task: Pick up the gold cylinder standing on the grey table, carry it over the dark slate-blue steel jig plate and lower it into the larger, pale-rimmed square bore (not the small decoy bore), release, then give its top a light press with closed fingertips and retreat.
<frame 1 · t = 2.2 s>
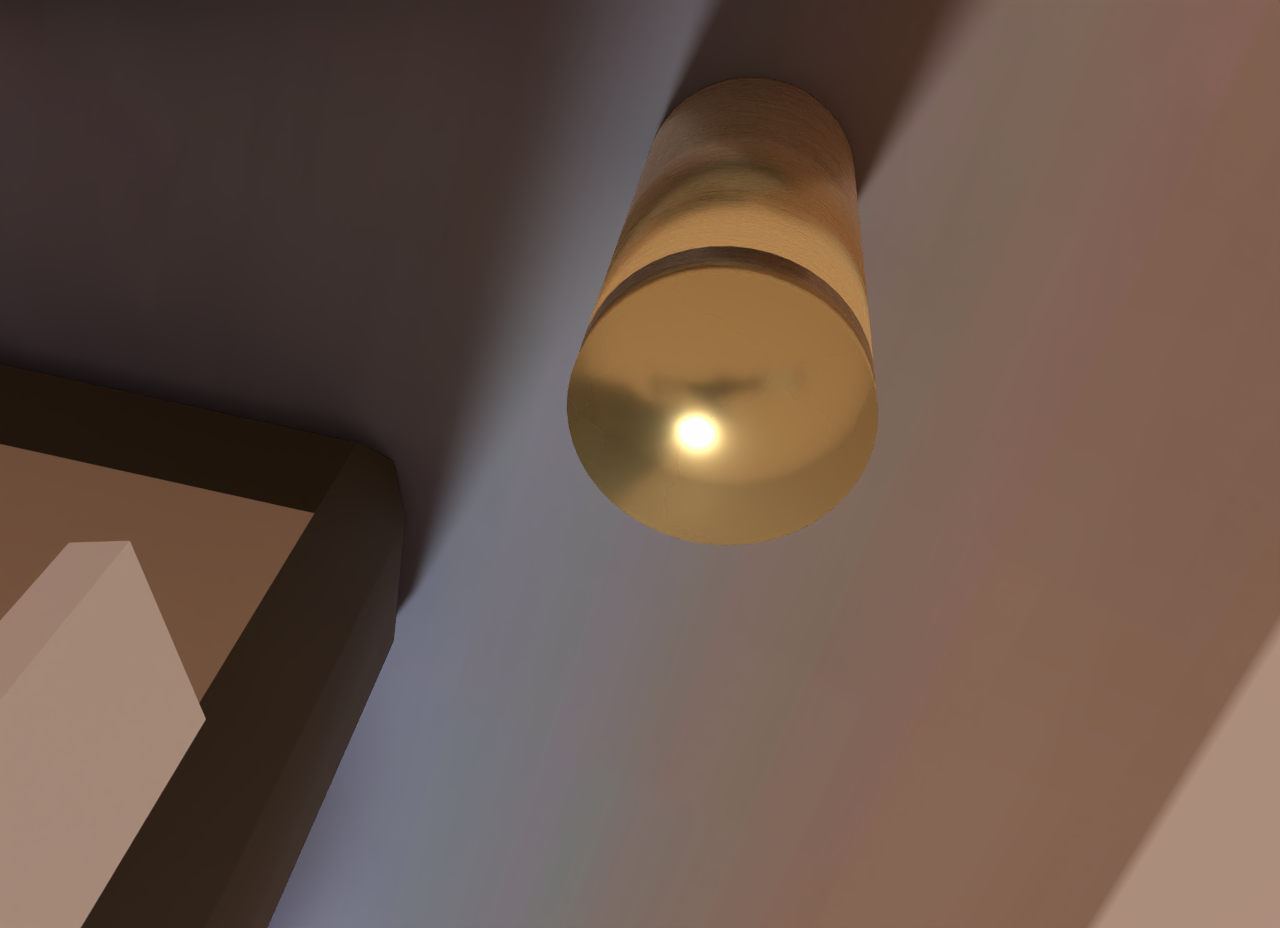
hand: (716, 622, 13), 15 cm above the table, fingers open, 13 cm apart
gold cylinder: (749, 183, 26), on the table
brown box: (118, 490, 32), on the table
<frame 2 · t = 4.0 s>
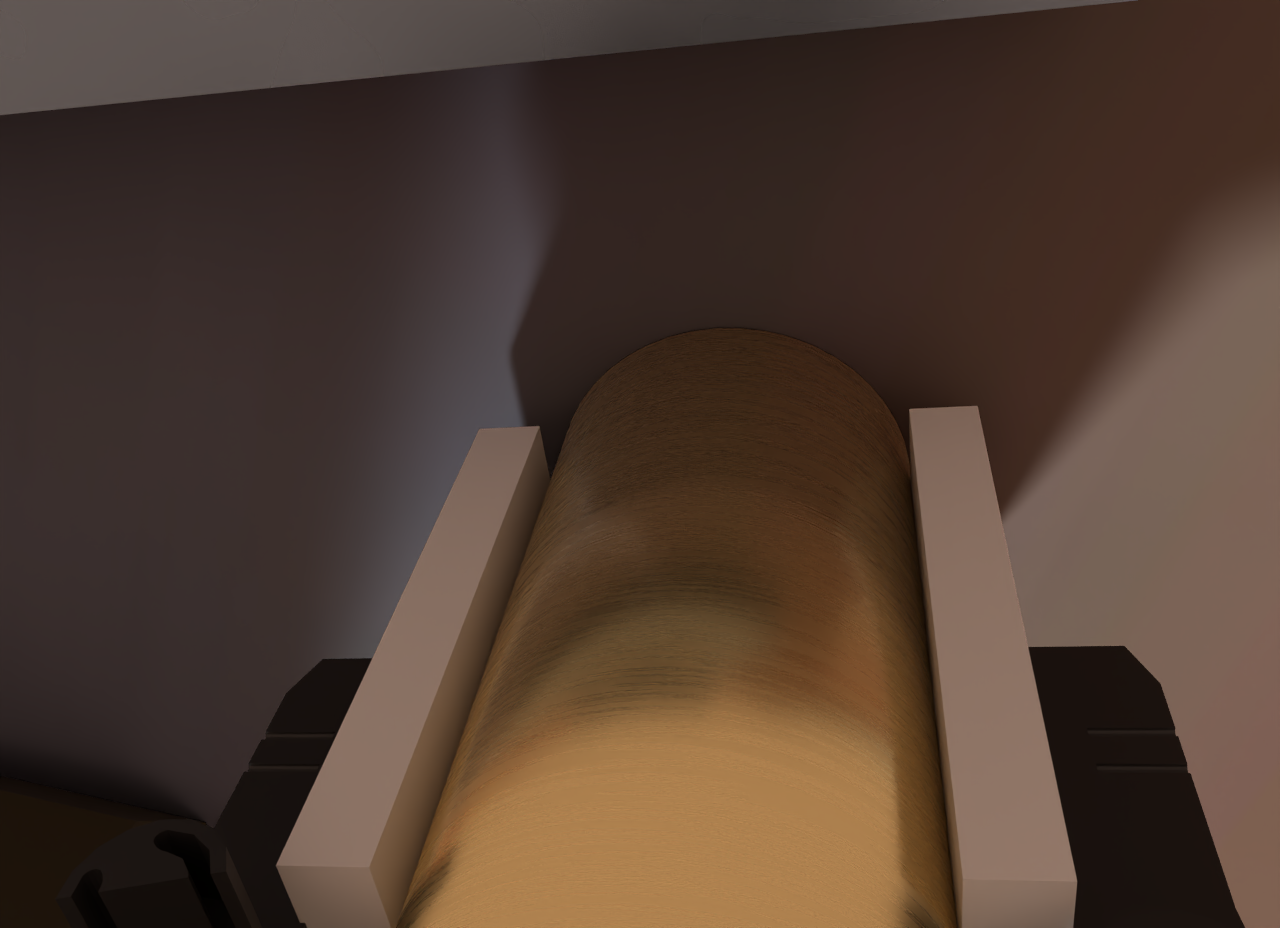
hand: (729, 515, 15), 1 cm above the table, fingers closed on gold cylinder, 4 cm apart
gold cylinder: (732, 485, 15), on the table, touching gripper
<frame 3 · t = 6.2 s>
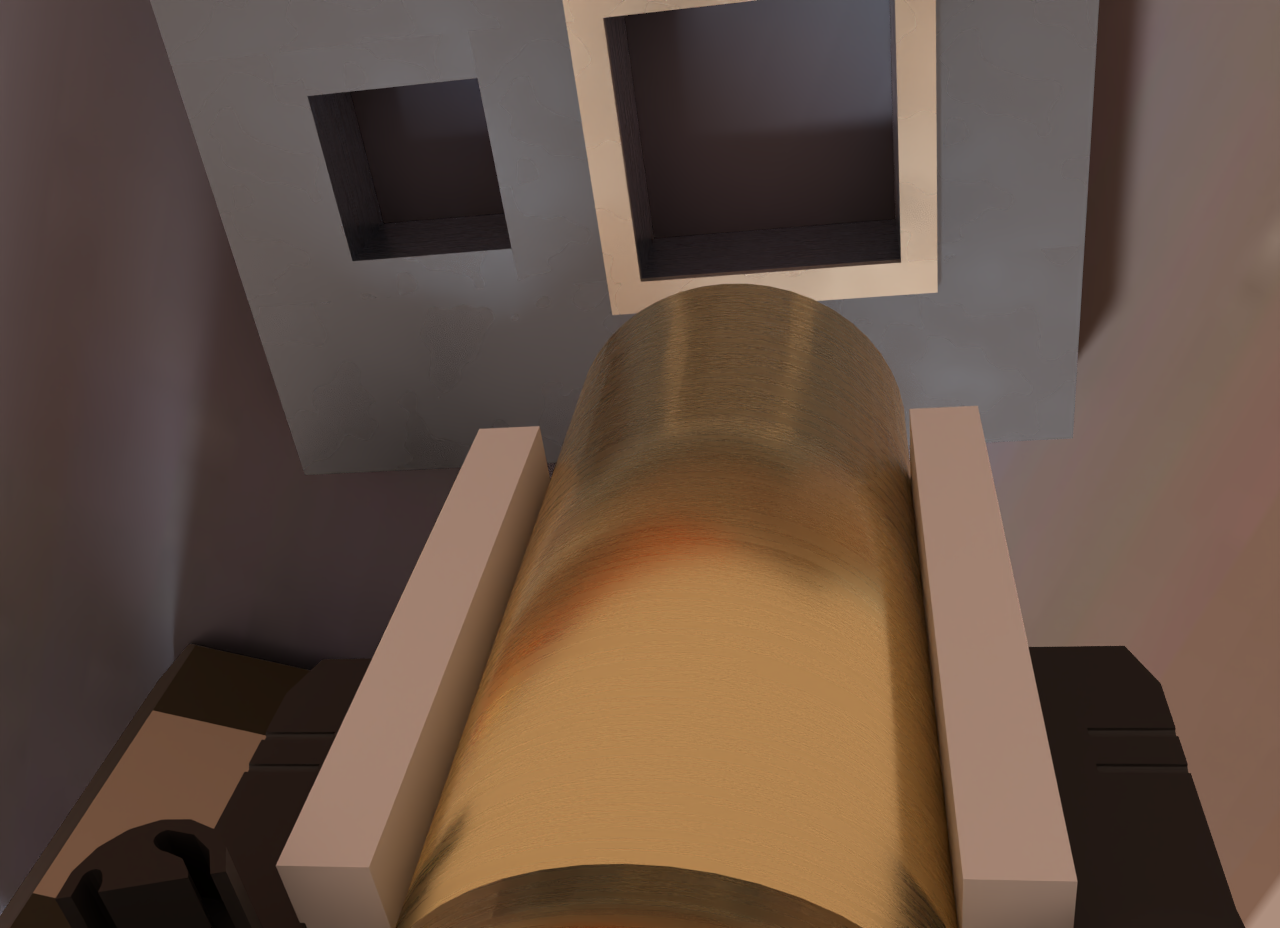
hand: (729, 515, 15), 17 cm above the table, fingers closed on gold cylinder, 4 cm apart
gold cylinder: (739, 433, 16), point 15 cm above the table, touching gripper
brown box: (399, 748, 42), on the table
jig: (638, 121, 29), on the table
when the fingers open (3 cm above the table, at t = 8.2 s): gold cylinder drops 2 cm, resting in jig.
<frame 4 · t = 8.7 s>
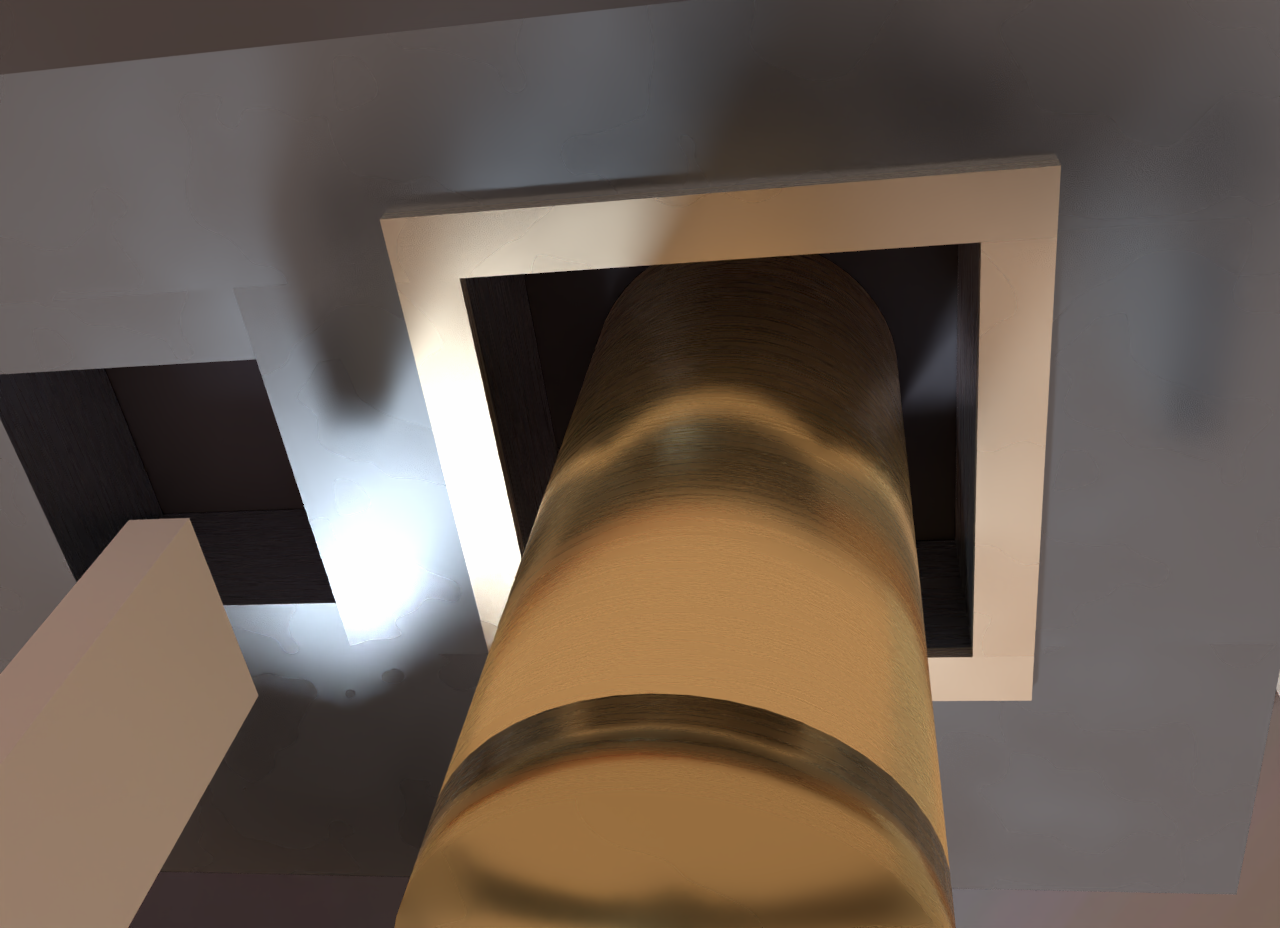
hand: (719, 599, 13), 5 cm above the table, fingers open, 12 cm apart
gold cylinder: (744, 379, 18), resting in jig
jig: (545, 389, 18), on the table
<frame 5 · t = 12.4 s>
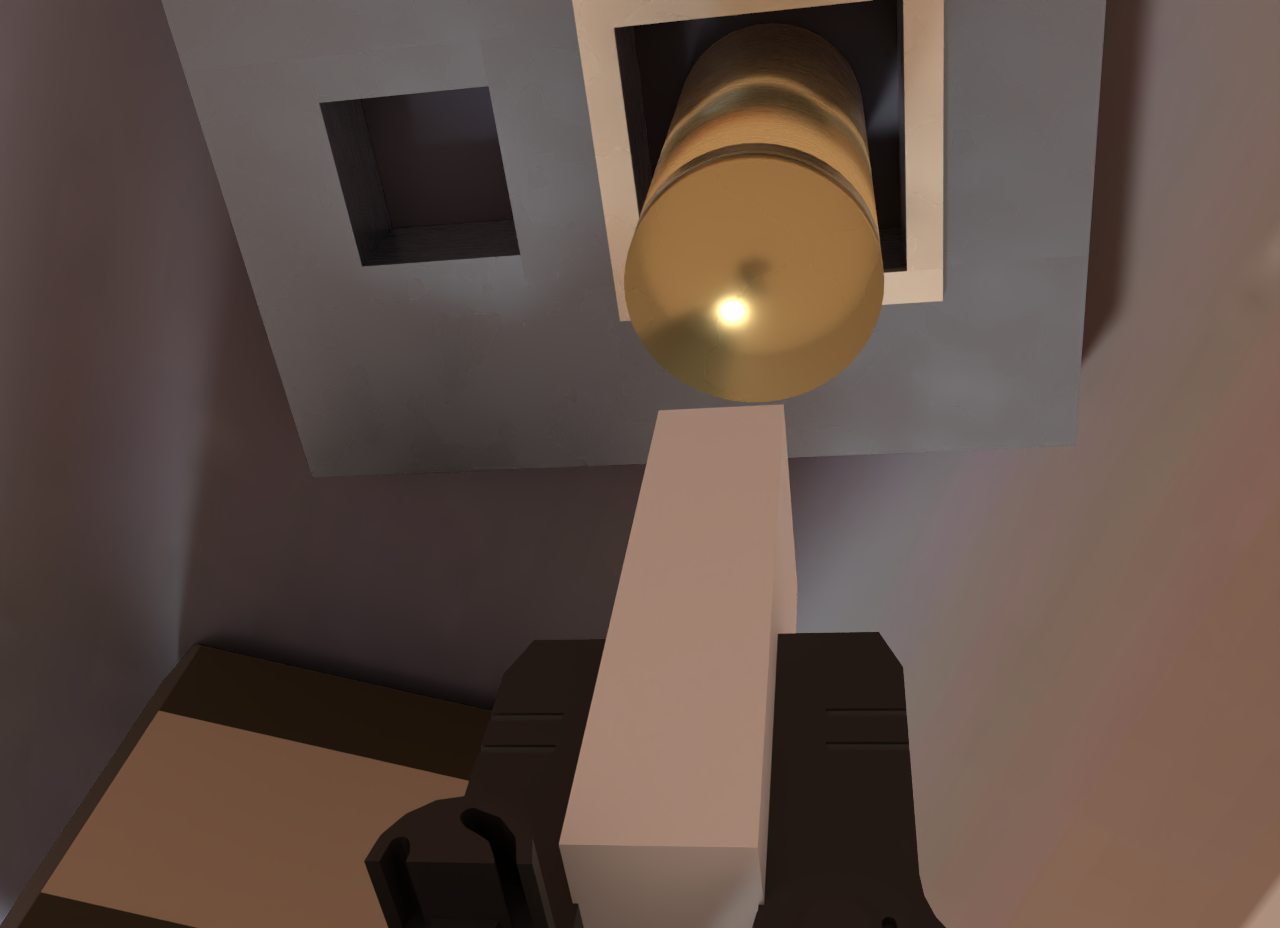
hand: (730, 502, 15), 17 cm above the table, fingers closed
gold cylinder: (769, 118, 29), resting in jig
brown box: (402, 749, 43), on the table
jig: (646, 129, 30), on the table
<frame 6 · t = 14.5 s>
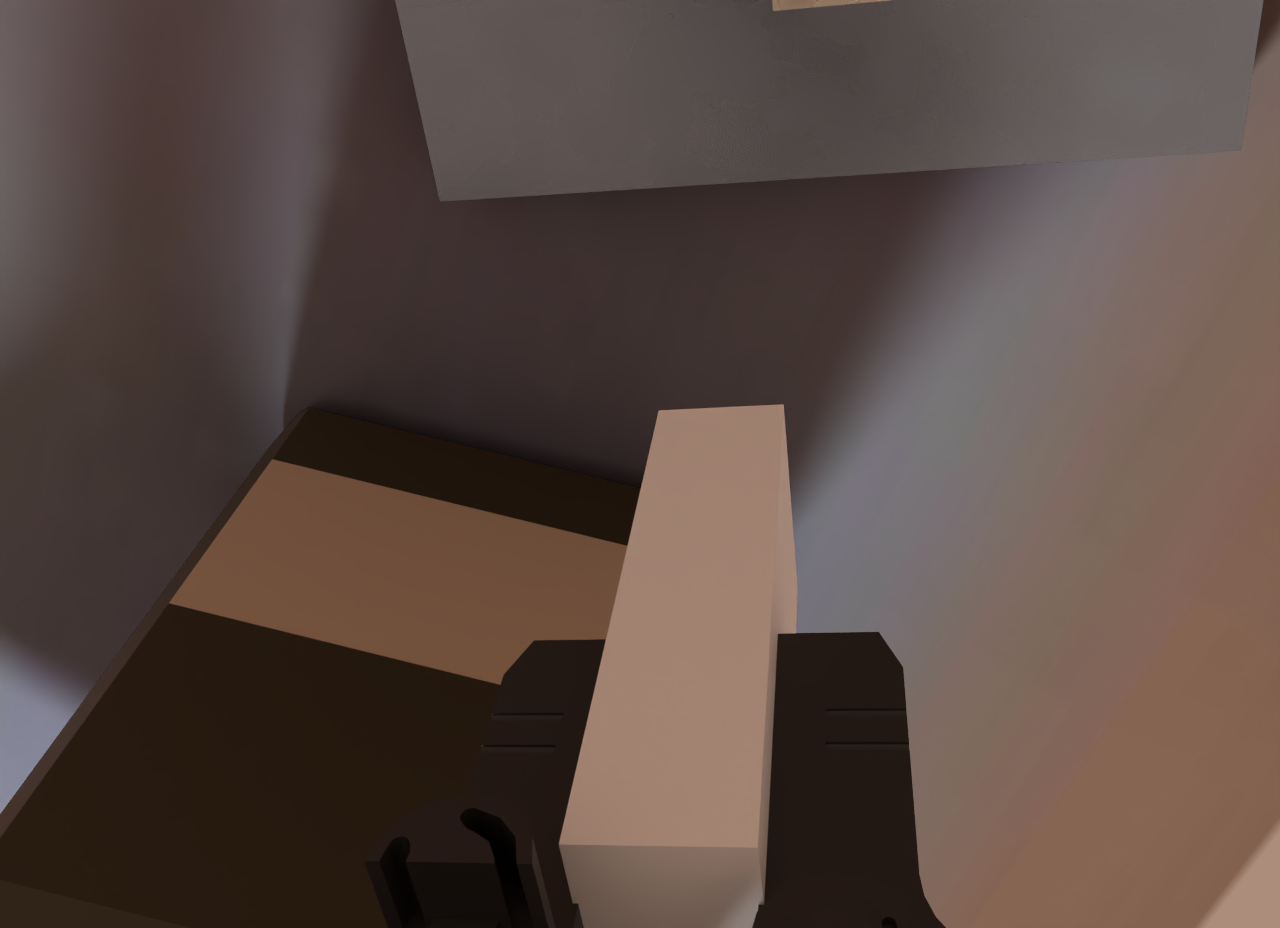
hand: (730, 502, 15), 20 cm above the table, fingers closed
brown box: (504, 529, 42), on the table
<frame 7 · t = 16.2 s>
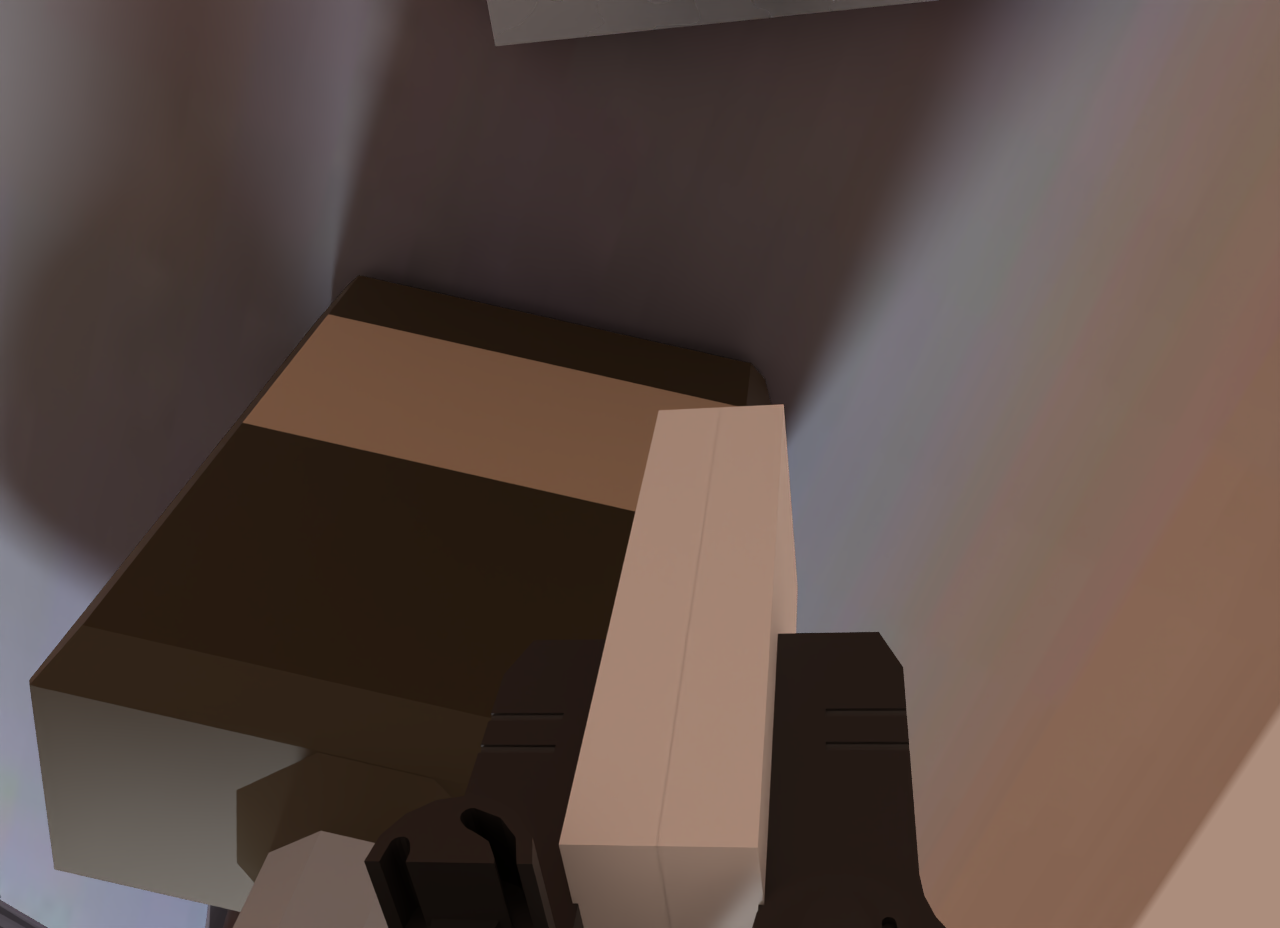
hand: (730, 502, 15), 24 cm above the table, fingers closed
brown box: (545, 403, 44), on the table
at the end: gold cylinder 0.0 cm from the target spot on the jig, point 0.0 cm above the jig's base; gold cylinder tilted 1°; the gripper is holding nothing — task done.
